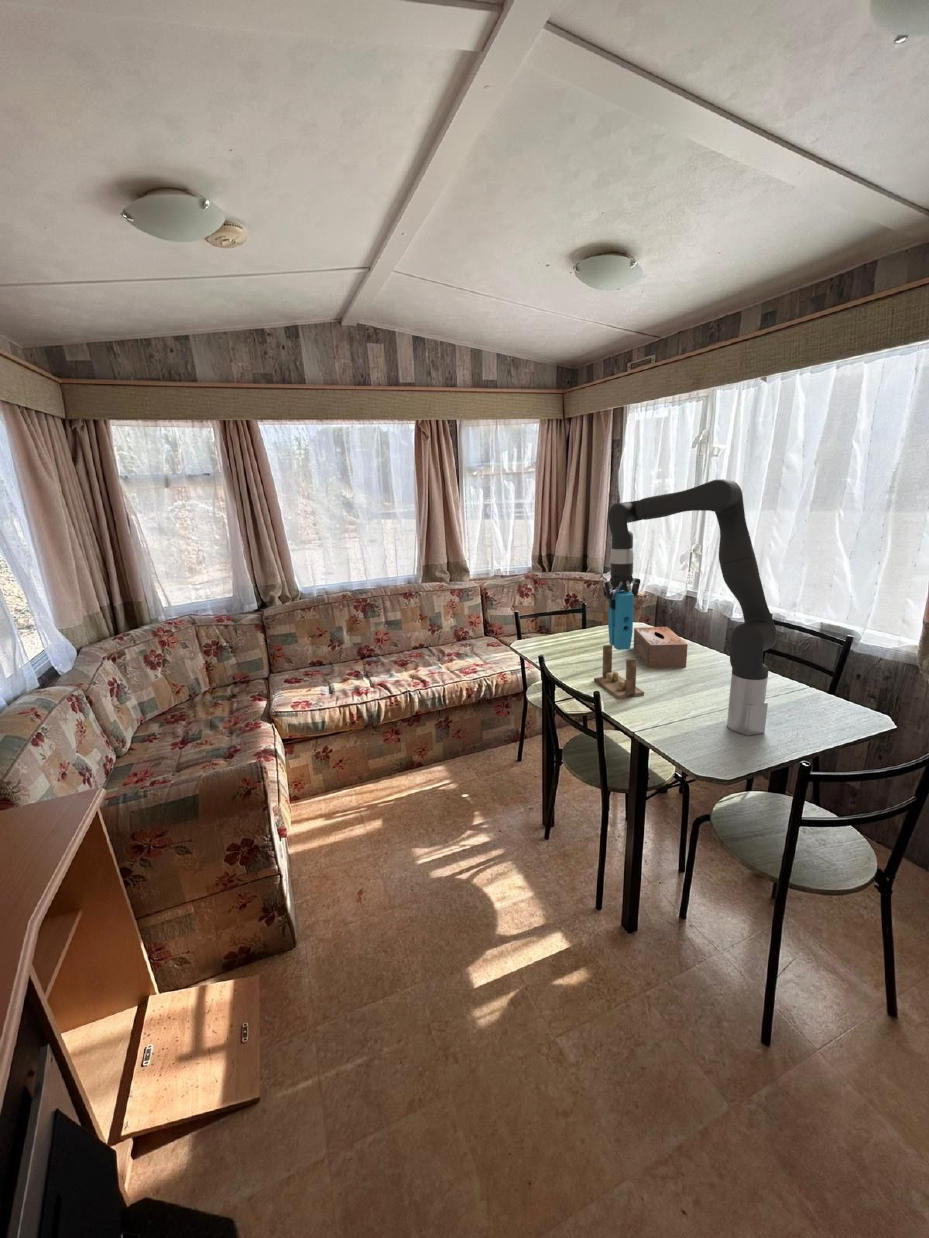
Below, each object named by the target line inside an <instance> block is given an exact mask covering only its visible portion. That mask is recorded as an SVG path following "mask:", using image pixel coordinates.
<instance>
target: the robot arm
mask: <svg viewBox="0 0 929 1238" xmlns="http://www.w3.org/2000/svg"><path fill="white" fill-rule="evenodd" d="M744 505H745V504H744V496H743V490H742V488H741V486H740V485H739V484H738V482H736V481H734V480H732V479H727V478H716V479H712V480H710V481H707V482H705V483H703V484H699V485H697V486H695V487H691V488H689V489H685V490H681V491H680V490H679V491H677V492H672V493H666V494H665V493H664V494H658V495H654V496H647V497H645V498H641V499H637V500H633V501H625V502H624V501H623V502H616V503H614V504H612V506H611V507H610V508H609V510H608V513H607V520H608V526H609V531H610V534H611V552H610V566H609V567H610V572H609V573H610V578H609V579H608V580H606V581H605V580H604V581H602V582H601V585H602V591H603V596H604V598H606V599H608V608H609V607H610V608H611V610H615V598H616V593H618V592H619V591H621V590H624V591H627V592H630V593H632V594H634V597H637V596H638V594H639V590H640V585H641V579H640V578H638V577H635V578H634V577H633V575H634V534H633V532H632V531H631V530H629V526H628V524H629V523H635V522H639V521H647V520H656V519H660V518H664V517H665V518H666V517H669V516H672V515H675V514H680V513H684V512H695V511H701V512H703V511H707V512H713V513H715V516H716V520H717V522H718V523H717V524H718V526H719V544H718V545H719V546H718V562H719V566H720V570H721V576H722V579H723V581H724V583H725V585H726V587H727V588H728V590H730V592H731V593H732V595H733V596H734V597H735V599H736V601H737V602H738V603H739V606H740V609H741V612H742V616H743V621H744V622H743V623H740V624H738V625H737V626H736V627H734V628H733V631H732V633H731V636H730V645H729V648H730V649H729V663H730V666H731V677H730V689H729V700H728V708H727V721H726V726H727V727H728V729H730V730H731V731H732V732H736V733H738V734H743V735H745V736H754V735H759V734H764V733H765V731H766V724H767V714H768V705H769V704H768V702H766V697H767V685H768V679H769V667H768V666H767V665H766V664H764V663H763V659H764V652H765V651H768V650H769V649H771V648H773V647H774V646H775V645H776V643H777V639H778V632H777V628H776V625H775V622H774V619H773V617H772V614H771V612H770V608H769V606H768V603H767V600H766V596H765V592H764V587H763V583H762V580H761V575H760V571H759V565H758V562H757V561H758V560H757V558H756V554H755V550H754V547H753V543H752V540H751V536H750V532H749V529H748V524H747V520H746V513H745V506H744ZM631 585H632V586H631ZM610 589H611V590H610Z"/></svg>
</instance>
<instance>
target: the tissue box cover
mask: <svg viewBox="0 0 929 1238" xmlns="http://www.w3.org/2000/svg"><path fill="white" fill-rule="evenodd" d="M688 647H689V646H688V643H687V642H686V641H684V640H683V639H682V638H681V637H680V636H679V635H678V634H677V633H675V632H674V631H673V630H672V629H671V628H669V627H668V626H650V627H648V626H647V627H646V626H643V627H642V626H641V627H634V628H633V650H634V651H635V652H636V653H637V654H638V655H639V657H640V658H641V659H642V661H644V663H645V664H646V665H647V667H648V668H649V669H656V668H657V669H660V668H663V669H664V668H687V660H688V659H687V658H688Z"/></svg>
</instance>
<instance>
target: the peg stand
mask: <svg viewBox="0 0 929 1238" xmlns="http://www.w3.org/2000/svg"><path fill="white" fill-rule="evenodd" d="M625 660H626V664H625V666H626V667H625V678H624V677H622V676H620V673H619V672H618V671H612V668H613V666H612V665H613V645H611V644H604V645H602V676H600V677H594V678H593V681H594V682H595V683H596V684H598V685H599V686H600V687H601V688H603V689H604V690H606V692H608V693H610V694H611V695H612V696H614V697H615V698H617V699H618V700H621V699H628V698H634V697H635V698H636V697H640V696H645V691H644V690H642V689H640V688H639V687H637V686H636V684H637V682H636V681H637V663H638V662H637V661H638V660H637V658H635V657H632V658H631V657H630V658H626V659H625Z"/></svg>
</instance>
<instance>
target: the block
mask: <svg viewBox="0 0 929 1238" xmlns="http://www.w3.org/2000/svg"><path fill="white" fill-rule="evenodd" d="M609 589H610V590H611V588H609ZM634 597H635V596H634V594H632V593H630V592H627V591H624V590H621V591H619V592H618V593H616V598H615V610H611V608H610V607H609V606H608V608H607V609H608V610H607V611H608V614H607V615H608V619H607V620H608V621H607V626H608V627H607V628H608V640H609V645H612V646H613V648H614V649H616V650H618V651H619V650H620V651H621V650H622V651H623V650H630V649H631V646H632V638H633V634H634V628H633V627H634V626H633V625H634Z"/></svg>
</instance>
